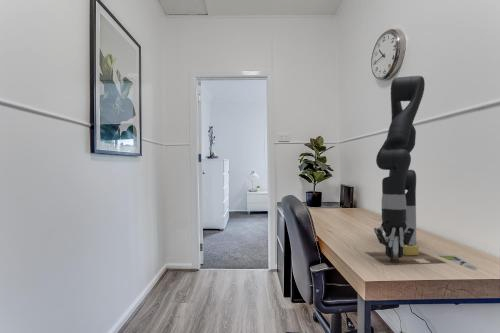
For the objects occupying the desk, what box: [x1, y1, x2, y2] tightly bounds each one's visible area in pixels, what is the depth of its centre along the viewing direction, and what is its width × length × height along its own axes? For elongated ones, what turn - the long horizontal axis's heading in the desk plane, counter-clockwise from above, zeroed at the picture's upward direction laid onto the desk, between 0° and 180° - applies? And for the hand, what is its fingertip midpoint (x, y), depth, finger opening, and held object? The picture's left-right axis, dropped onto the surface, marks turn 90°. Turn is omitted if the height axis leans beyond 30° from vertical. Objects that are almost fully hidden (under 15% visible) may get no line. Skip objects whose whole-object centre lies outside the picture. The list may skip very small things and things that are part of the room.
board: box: [364, 250, 447, 266], centre depth 97 cm, size 14×22×2 cm, turn 95°
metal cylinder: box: [390, 236, 399, 263], centre depth 92 cm, size 3×3×9 cm
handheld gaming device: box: [434, 253, 478, 270], centre depth 97 cm, size 9×1×15 cm
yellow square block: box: [403, 243, 419, 255], centre depth 101 cm, size 5×5×4 cm
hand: (394, 256), depth 92 cm, fingers closed on metal cylinder, 2 cm apart
